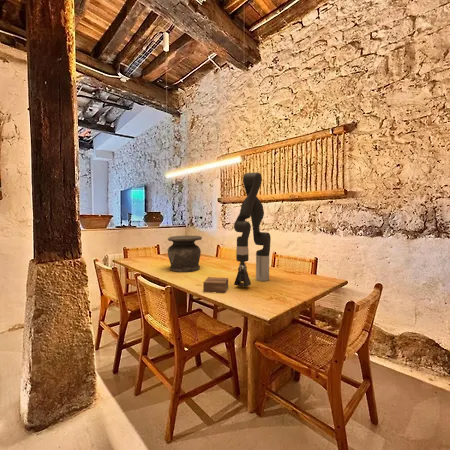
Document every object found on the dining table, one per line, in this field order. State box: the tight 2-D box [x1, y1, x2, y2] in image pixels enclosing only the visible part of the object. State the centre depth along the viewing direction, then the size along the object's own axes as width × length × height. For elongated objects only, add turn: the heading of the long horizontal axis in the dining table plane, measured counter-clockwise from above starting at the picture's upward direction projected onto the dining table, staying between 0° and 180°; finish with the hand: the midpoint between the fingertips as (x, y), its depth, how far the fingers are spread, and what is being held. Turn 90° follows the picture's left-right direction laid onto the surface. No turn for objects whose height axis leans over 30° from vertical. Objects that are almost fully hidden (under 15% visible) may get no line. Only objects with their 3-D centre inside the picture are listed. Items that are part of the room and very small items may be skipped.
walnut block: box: [202, 276, 229, 294], centre depth 161 cm, size 13×13×6 cm
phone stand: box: [233, 265, 252, 288], centre depth 164 cm, size 9×6×12 cm, turn 59°
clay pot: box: [167, 235, 202, 273], centre depth 218 cm, size 29×30×30 cm
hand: (242, 279), depth 164 cm, fingers closed on phone stand, 6 cm apart
